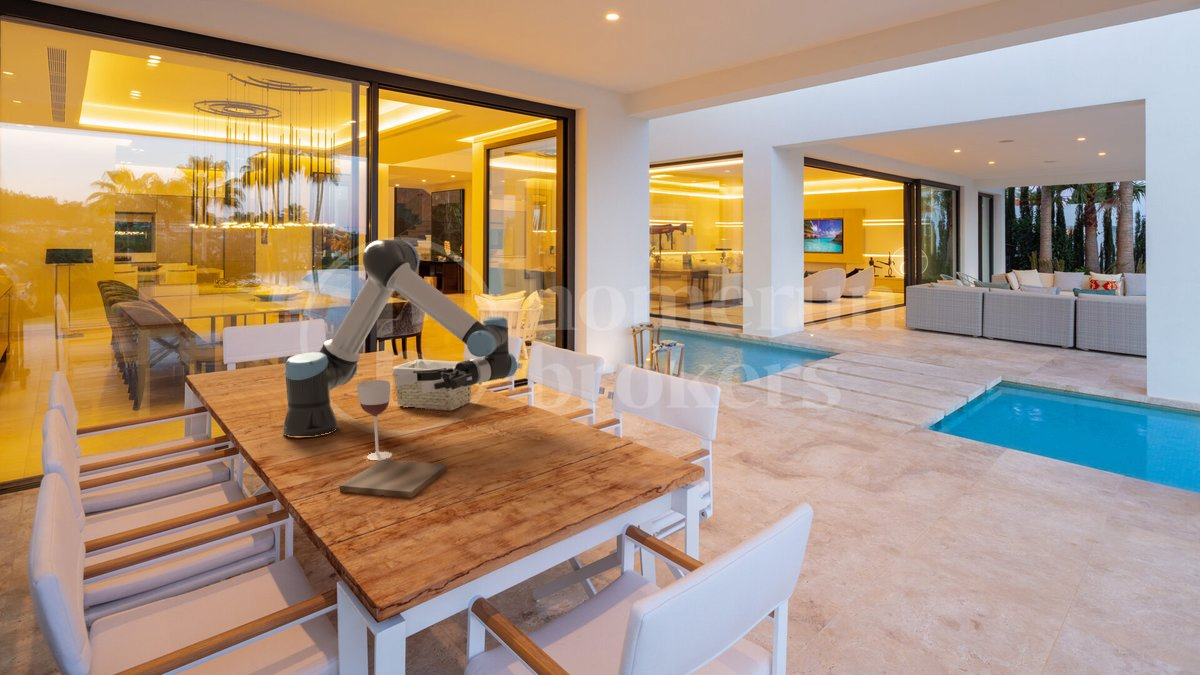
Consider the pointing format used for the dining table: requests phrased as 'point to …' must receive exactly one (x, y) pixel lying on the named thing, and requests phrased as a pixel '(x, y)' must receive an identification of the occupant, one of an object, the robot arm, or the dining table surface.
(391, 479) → the walnut board
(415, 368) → the storage basket
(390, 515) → the dining table surface
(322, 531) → the dining table surface
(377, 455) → the wineglass
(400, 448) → the dining table surface
